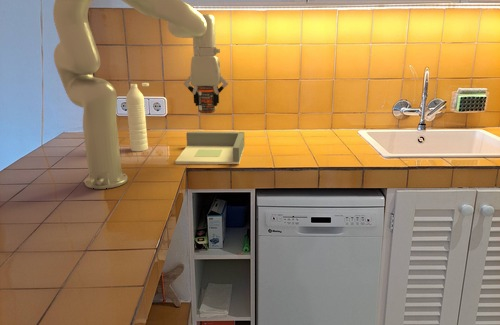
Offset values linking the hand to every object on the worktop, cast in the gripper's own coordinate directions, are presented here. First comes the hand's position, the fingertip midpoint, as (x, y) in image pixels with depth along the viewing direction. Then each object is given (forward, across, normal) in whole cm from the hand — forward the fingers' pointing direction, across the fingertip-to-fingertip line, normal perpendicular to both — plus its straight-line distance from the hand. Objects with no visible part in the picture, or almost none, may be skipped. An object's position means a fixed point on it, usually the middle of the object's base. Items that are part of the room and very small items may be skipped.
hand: (206, 104), depth 158 cm
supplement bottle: (+3, 0, 0) cm, 3 cm away
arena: (+19, -1, -1) cm, 19 cm away
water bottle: (+19, +27, -8) cm, 34 cm away
